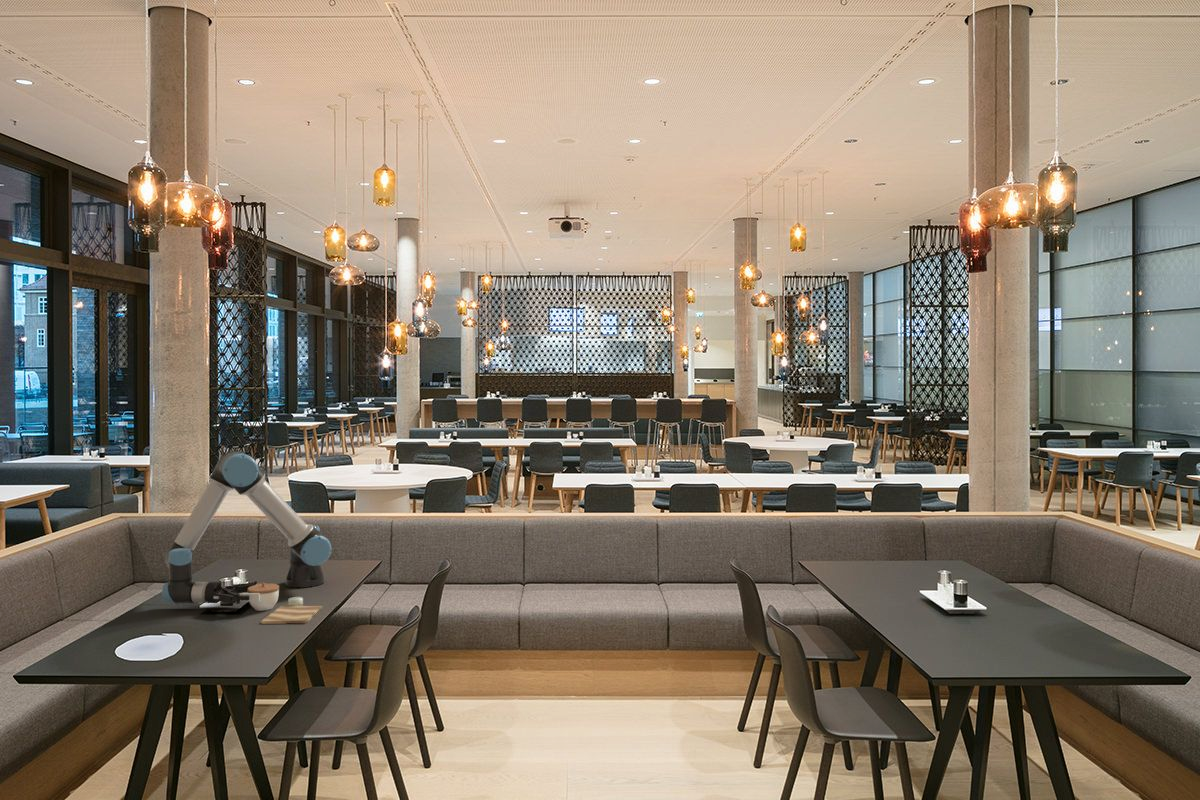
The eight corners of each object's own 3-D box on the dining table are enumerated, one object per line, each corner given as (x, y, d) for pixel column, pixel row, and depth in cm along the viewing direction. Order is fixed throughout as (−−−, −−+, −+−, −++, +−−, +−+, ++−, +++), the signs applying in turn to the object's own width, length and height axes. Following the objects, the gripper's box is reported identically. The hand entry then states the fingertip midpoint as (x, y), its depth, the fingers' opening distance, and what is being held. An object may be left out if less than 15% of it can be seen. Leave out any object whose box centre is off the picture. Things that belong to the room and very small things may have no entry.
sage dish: (291, 604, 319) (291, 596, 319) (305, 604, 319) (304, 596, 319) (286, 608, 314) (286, 600, 314) (300, 608, 314) (300, 600, 314)
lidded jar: (268, 613, 309) (268, 587, 308) (241, 611, 311) (241, 585, 310) (285, 605, 319) (284, 579, 319) (259, 603, 321) (258, 578, 321)
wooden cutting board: (280, 608, 314) (280, 606, 314) (322, 608, 314) (322, 605, 314) (261, 623, 296) (261, 620, 296) (305, 623, 296) (305, 620, 296)
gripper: (223, 593, 327) (279, 593, 327) (192, 612, 302) (253, 612, 302) (222, 573, 327) (279, 573, 327) (191, 591, 302) (252, 591, 302)
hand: (266, 592), depth 315 cm, fingers open, 13 cm apart
